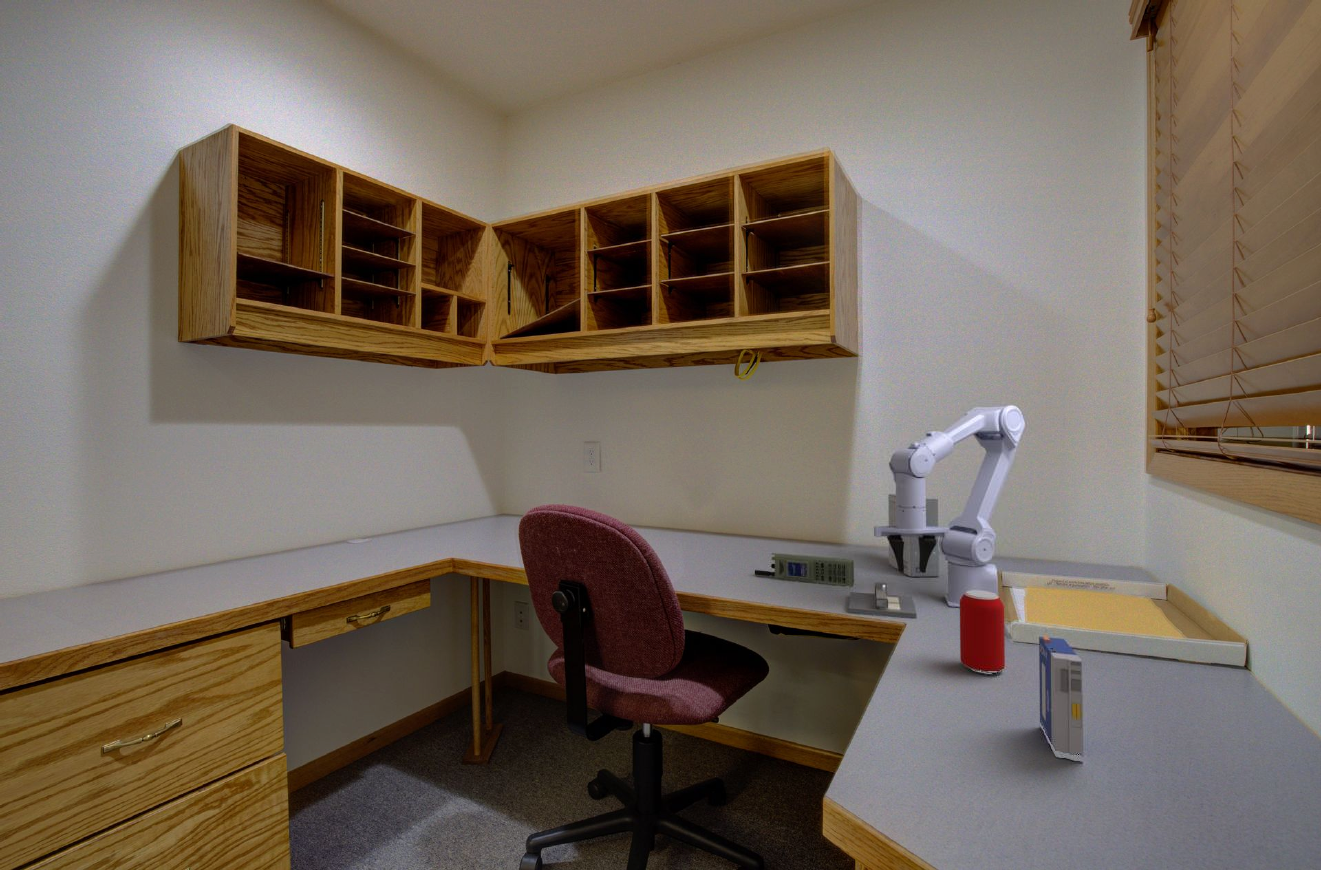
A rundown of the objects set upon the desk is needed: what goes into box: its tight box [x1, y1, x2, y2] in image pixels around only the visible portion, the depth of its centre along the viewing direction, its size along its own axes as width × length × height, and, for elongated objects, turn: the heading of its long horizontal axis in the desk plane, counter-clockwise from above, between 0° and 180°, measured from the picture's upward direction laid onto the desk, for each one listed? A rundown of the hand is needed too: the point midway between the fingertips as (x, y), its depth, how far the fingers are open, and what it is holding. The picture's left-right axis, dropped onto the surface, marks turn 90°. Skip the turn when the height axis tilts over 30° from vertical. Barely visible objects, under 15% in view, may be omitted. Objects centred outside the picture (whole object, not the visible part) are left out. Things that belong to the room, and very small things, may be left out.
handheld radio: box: [754, 552, 855, 588], centre depth 151 cm, size 7×3×25 cm
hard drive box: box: [887, 493, 940, 578], centre depth 160 cm, size 16×8×20 cm, turn 179°
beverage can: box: [959, 590, 1006, 674], centre depth 95 cm, size 6×6×12 cm
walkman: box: [1038, 636, 1084, 758], centre depth 72 cm, size 8×3×12 cm, turn 159°
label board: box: [848, 591, 918, 619], centre depth 128 cm, size 13×13×1 cm
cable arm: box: [874, 581, 888, 608], centre depth 128 cm, size 3×12×2 cm, turn 161°
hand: (911, 571), depth 124 cm, fingers open, 4 cm apart
